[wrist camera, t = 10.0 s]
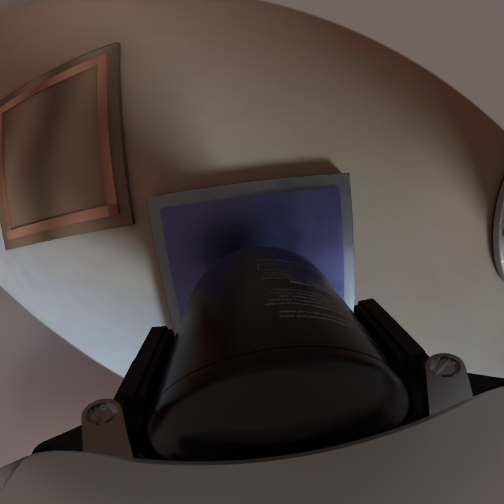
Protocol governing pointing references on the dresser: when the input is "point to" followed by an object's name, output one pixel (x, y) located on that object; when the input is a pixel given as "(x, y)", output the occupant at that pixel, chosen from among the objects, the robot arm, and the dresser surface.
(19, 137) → the marked board
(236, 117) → the dresser surface
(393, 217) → the dresser surface
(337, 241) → the ink pad
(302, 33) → the dresser surface
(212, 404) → the supplement bottle
